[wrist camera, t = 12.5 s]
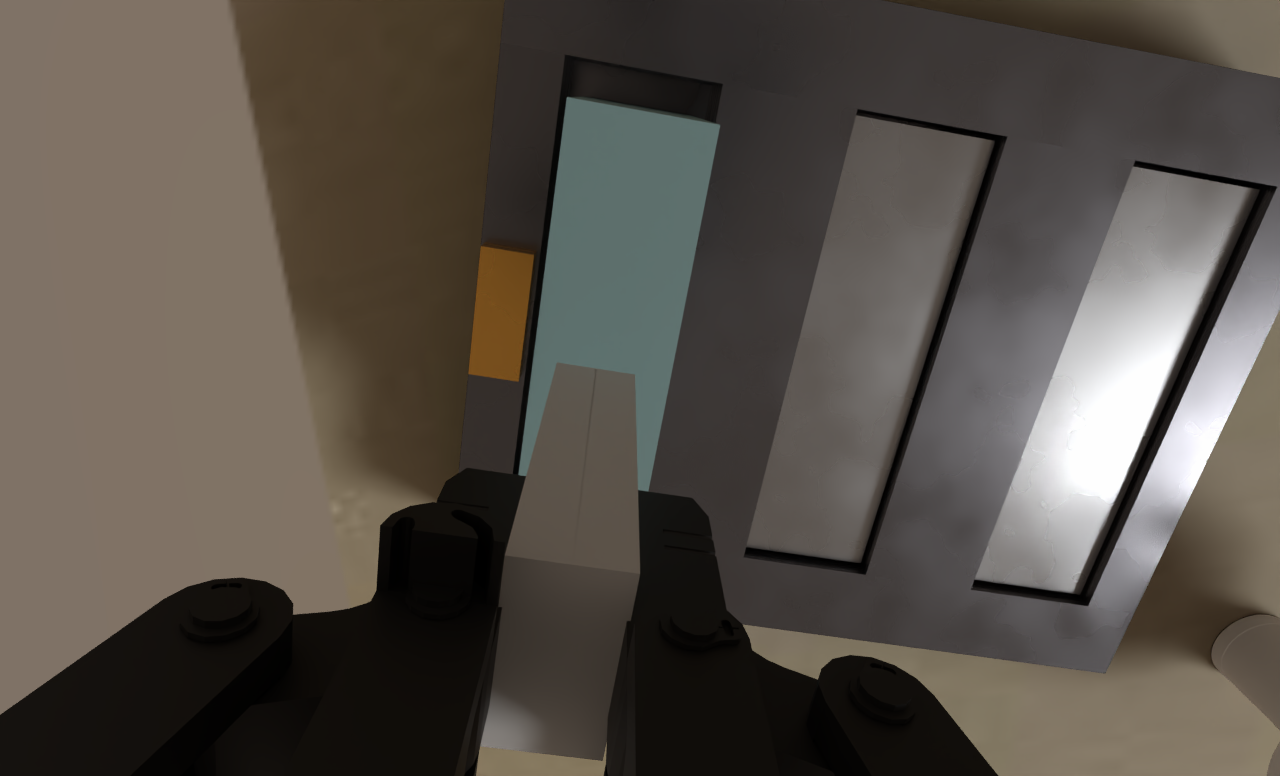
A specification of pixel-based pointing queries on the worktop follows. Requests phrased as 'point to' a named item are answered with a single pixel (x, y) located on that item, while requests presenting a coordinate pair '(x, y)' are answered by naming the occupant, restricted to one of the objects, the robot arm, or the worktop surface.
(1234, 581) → the worktop surface
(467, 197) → the worktop surface
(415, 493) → the worktop surface
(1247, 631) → the white ringed cylinder
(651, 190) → the panel
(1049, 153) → the rack
